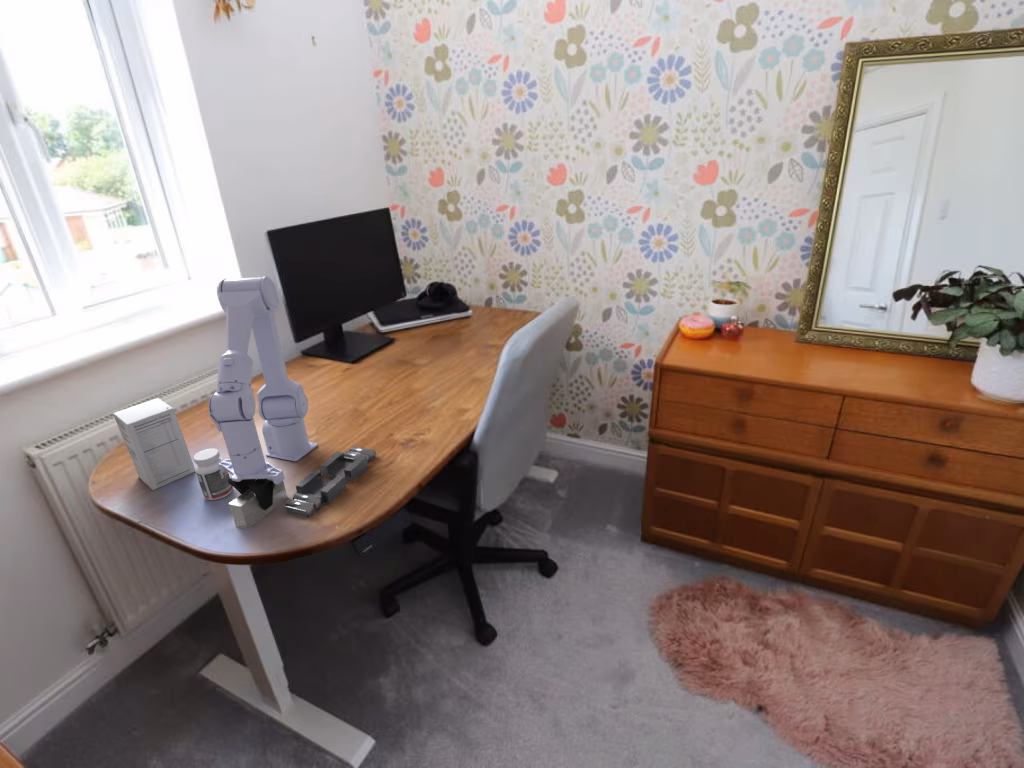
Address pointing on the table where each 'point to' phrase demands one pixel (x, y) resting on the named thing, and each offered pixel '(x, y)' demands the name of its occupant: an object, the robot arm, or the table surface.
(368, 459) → the chain end
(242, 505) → the pale grey rectangular prism
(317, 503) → the chain end
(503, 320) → the table surface
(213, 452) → the pill bottle
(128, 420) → the supplement box
